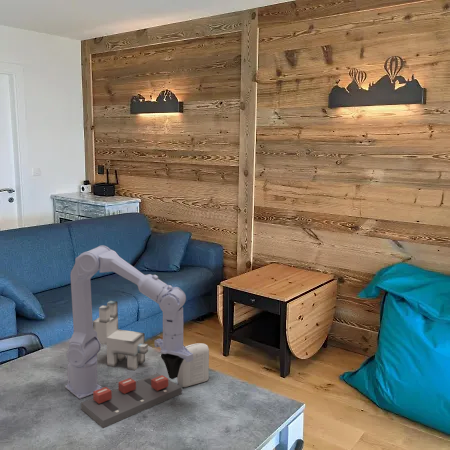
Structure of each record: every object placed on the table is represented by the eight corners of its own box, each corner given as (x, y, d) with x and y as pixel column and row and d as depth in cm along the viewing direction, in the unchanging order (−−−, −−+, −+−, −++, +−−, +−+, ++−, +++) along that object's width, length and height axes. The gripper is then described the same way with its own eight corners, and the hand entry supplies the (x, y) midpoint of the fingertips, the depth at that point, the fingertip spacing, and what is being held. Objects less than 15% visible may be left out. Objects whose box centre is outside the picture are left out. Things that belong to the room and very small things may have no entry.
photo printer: (203, 375, 155) (204, 338, 153) (210, 380, 152) (211, 343, 150) (175, 383, 150) (175, 346, 148) (181, 389, 146) (181, 351, 144)
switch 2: (118, 389, 141) (118, 381, 140) (130, 385, 143) (130, 377, 143) (124, 393, 139) (123, 385, 138) (135, 389, 141) (135, 381, 141)
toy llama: (141, 371, 157) (140, 313, 154) (94, 363, 162) (92, 306, 159) (151, 362, 164) (150, 305, 161) (106, 354, 169) (104, 299, 166)
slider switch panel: (81, 409, 135) (81, 402, 134) (157, 378, 152) (157, 372, 152) (103, 427, 126) (103, 420, 126) (181, 393, 144) (181, 386, 143)
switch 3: (151, 387, 143) (151, 379, 142) (162, 382, 145) (162, 374, 145) (157, 390, 140) (157, 382, 140) (168, 386, 143) (168, 378, 143)
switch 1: (93, 399, 135) (93, 391, 135) (106, 394, 138) (105, 386, 138) (98, 403, 133) (98, 395, 133) (111, 398, 136) (111, 390, 135)
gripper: (145, 328, 137) (146, 373, 139) (179, 343, 127) (179, 391, 130) (165, 322, 142) (165, 365, 144) (198, 336, 132) (198, 382, 135)
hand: (173, 377), depth 137 cm, fingers closed
